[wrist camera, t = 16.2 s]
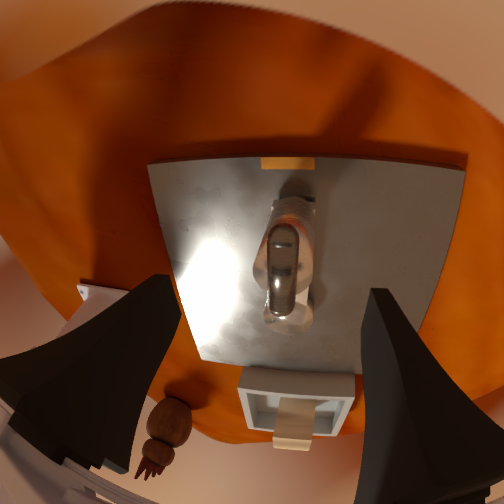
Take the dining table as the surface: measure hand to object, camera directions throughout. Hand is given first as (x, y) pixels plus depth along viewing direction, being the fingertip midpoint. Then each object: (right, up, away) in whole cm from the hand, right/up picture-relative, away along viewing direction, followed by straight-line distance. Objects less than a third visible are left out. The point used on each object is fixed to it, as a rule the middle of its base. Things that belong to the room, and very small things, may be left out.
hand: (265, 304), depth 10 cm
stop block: (+5, -15, +20) cm, 26 cm away
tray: (+5, -15, +20) cm, 26 cm away
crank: (+2, +1, +9) cm, 9 cm away
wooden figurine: (-12, -22, +29) cm, 38 cm away
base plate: (+3, -1, +11) cm, 12 cm away
